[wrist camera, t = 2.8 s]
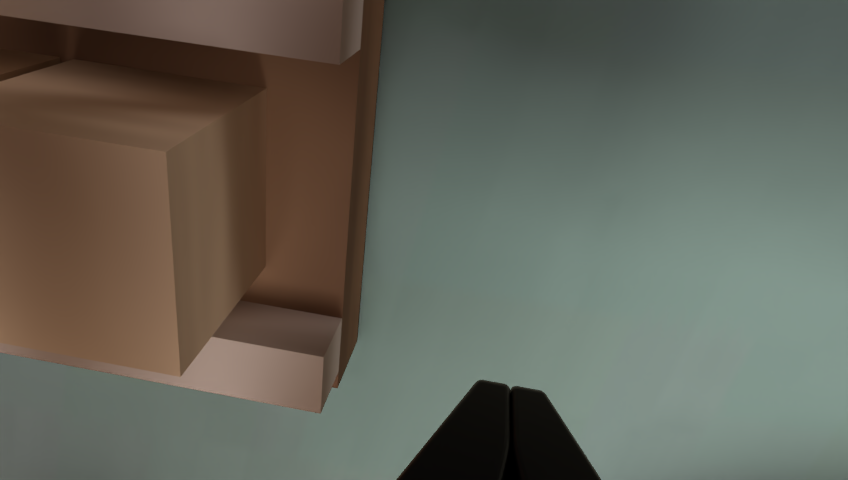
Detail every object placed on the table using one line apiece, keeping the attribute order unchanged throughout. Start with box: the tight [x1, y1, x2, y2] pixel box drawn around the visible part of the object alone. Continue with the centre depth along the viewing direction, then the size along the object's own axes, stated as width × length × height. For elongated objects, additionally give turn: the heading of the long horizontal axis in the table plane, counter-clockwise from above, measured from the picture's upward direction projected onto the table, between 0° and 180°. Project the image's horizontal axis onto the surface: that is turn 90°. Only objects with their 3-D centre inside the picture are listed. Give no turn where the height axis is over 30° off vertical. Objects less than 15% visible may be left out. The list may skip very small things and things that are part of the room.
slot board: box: [0, 0, 385, 413], centre depth 14 cm, size 10×10×4 cm
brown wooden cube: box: [0, 59, 267, 377], centre depth 12 cm, size 4×4×4 cm
